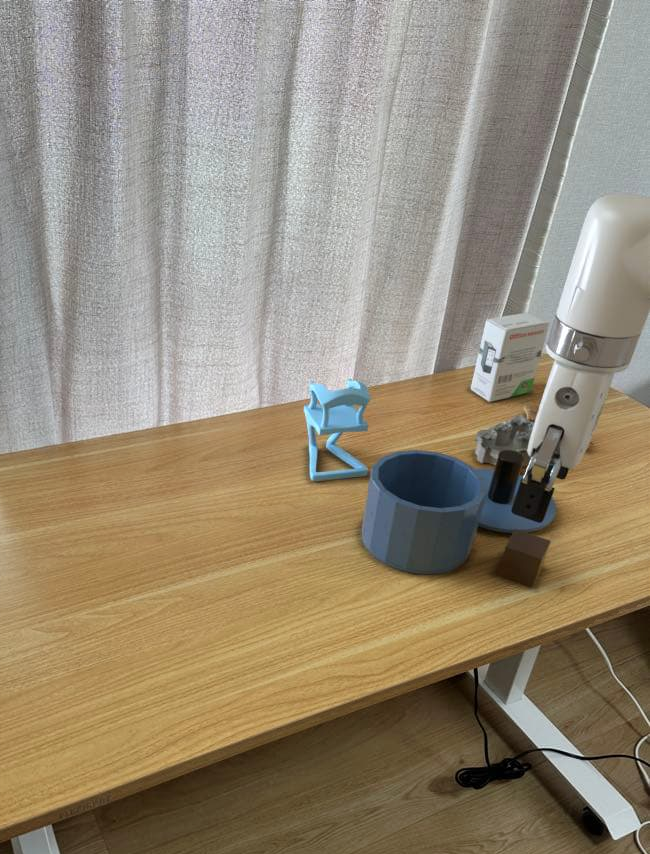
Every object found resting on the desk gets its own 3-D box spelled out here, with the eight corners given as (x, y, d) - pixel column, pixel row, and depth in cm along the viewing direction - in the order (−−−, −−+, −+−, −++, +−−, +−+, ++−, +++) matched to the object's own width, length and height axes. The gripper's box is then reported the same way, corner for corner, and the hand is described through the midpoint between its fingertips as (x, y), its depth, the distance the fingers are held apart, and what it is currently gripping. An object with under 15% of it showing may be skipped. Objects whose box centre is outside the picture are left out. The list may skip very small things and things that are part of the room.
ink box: (510, 380, 130) (529, 310, 123) (531, 393, 127) (552, 321, 120) (468, 389, 127) (485, 317, 120) (488, 403, 124) (507, 329, 117)
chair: (345, 444, 112) (356, 363, 104) (368, 476, 105) (381, 392, 98) (292, 449, 110) (300, 367, 103) (312, 482, 103) (321, 397, 96)
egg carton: (507, 480, 106) (515, 453, 104) (464, 455, 111) (470, 428, 108) (558, 457, 111) (566, 431, 109) (514, 434, 116) (521, 409, 113)
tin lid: (565, 496, 103) (581, 448, 99) (538, 551, 94) (555, 500, 89) (462, 464, 109) (473, 417, 104) (426, 513, 99) (437, 463, 95)
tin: (483, 531, 96) (500, 471, 91) (449, 588, 87) (465, 525, 82) (386, 498, 101) (397, 439, 96) (343, 549, 92) (353, 487, 87)
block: (541, 568, 91) (551, 540, 89) (532, 587, 88) (542, 559, 86) (506, 556, 93) (515, 528, 90) (496, 575, 90) (505, 546, 87)
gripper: (616, 386, 67) (555, 549, 77) (649, 322, 79) (592, 470, 89) (526, 362, 69) (479, 522, 80) (571, 304, 82) (525, 449, 92)
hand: (539, 494), depth 84 cm, fingers open, 9 cm apart
